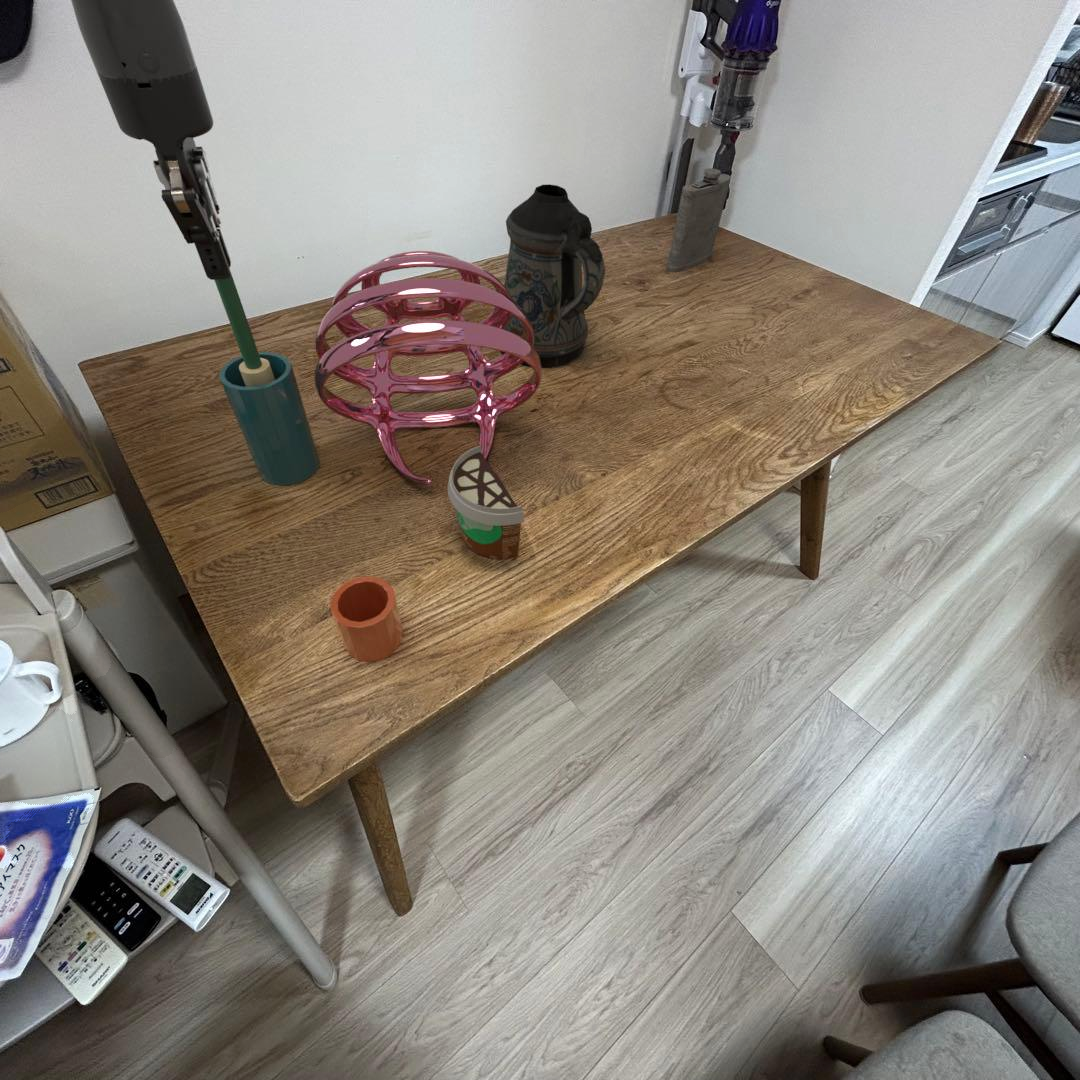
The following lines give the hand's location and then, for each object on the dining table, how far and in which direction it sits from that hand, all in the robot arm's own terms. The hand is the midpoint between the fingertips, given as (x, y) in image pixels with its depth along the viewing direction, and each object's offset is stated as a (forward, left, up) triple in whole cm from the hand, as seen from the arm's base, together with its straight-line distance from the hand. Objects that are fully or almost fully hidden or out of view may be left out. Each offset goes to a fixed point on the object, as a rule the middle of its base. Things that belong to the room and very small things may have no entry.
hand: (220, 272), depth 62 cm
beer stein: (+44, +22, -27) cm, 56 cm away
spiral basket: (+21, 0, -27) cm, 34 cm away
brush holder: (+8, -31, -27) cm, 42 cm away
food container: (+22, -20, -27) cm, 40 cm away
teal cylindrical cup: (0, 0, -27) cm, 27 cm away
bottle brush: (0, 0, -17) cm, 17 cm away
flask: (+85, +48, -27) cm, 101 cm away
